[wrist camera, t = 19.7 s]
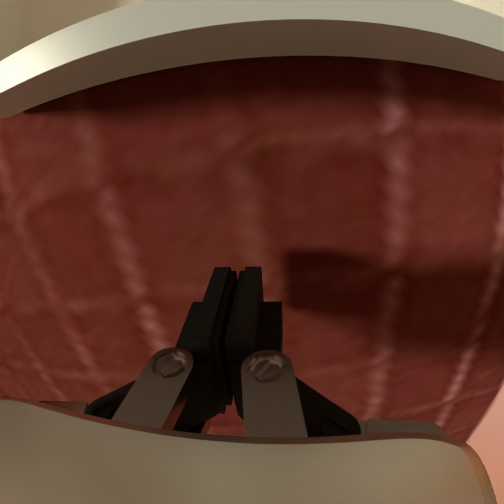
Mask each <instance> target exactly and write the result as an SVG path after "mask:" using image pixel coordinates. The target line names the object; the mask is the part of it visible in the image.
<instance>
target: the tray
mask: <svg viewBox="0 0 504 504" xmlns="http://www.w3.org/2000/svg"><path fill="white" fill-rule="evenodd" d="M272 56H346V57H363V58H375V59H386V60H395V61H403V62H411V63H418V64H424V65H430V66H436V67H441V68H447V69H452V70H457V71H461V72H466V73H470V74H474V75H478V76H482V77H486V78H490V79H494V80H500V81H504V0H0V119H2V118H5V117H9V116H13V115H15V114H17V113H20V112H22V111H25V110H27V109H29V108H32V107H35V106H37V105H40V104H42V103H45V102H48V101H50V100H53V99H56V98H59V97H62V96H65V95H68V94H71V93H74V92H77V91H80V90H83V89H86V88H90V87H93V86H96V85H100V84H103V83H107V82H111V81H115V80H118V79H122V78H126V77H131V76H135V75H139V74H144V73H148V72H153V71H158V70H163V69H169V68H174V67H180V66H186V65H192V64H199V63H206V62H214V61H223V60H232V59H243V58H255V57H272Z"/></svg>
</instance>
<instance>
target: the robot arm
mask: <svg viewBox="0 0 504 504" xmlns="http://www.w3.org/2000/svg"><path fill="white" fill-rule="evenodd" d="M282 345H283V320H282V301H279V302H264V300H263V285H262V271H261V267H246V268H245V271H240V273H239V277H238V282H237V273H236V271H231V268H230V267H215V268H214V271H213V274H212V276H211V279H210V282H209V285H208V288H207V290H206V293H205V296H204V299H203V302H193V304H192V305H191V308H190V310H189V313H188V316H187V318H186V321H185V323H184V326H183V329H182V331H181V334H180V336H179V339H178V342H177V344H176V347H175V348H174V347H172V348H166V349H163V350H160V351H158V352H157V353H155V354H154V355H153V356H152V357H151V358H150V359H149V361H148V362H147V364H146V365H145V367H144V369H143V370H142V372H141V373H140V375H139V376H138V378H137V380H135V381H133V382H131V383H129V384H127V385H125V386H123V387H121V388H119V389H117V390H115V391H113V392H111V393H109V394H107V395H105V396H103V397H101V398H98V399H97V400H95V401H93V402H92V403H91V404H90V405H88V404H87V402H65V401H39V402H36V401H31V400H25V399H16V398H3V399H0V504H497V502H496V498H495V494H494V491H493V488H492V485H491V482H490V479H489V476H488V474H487V471H486V469H485V467H484V465H483V463H482V461H481V459H480V457H479V456H478V454H477V453H476V452H475V451H474V449H473V448H472V447H471V446H469V445H468V444H466V443H465V442H463V441H461V440H458V439H455V438H452V437H448V436H445V432H444V431H443V430H442V428H441V427H439V426H438V425H436V424H434V423H430V422H414V421H395V420H381V419H370V418H369V419H368V422H367V421H357V419H356V418H354V417H353V416H352V415H351V414H350V413H348V412H346V411H345V410H343V409H342V408H340V407H339V406H337V405H336V404H334V403H333V402H331V401H330V400H328V399H327V398H325V397H324V396H322V395H321V394H319V393H318V392H317V391H315V390H314V389H312V388H311V387H309V386H308V385H306V384H305V383H303V382H302V381H301V380H299V379H298V378H296V377H295V375H294V370H293V366H292V363H291V361H290V359H289V358H288V357H287V356H286V355H285V354H283V353H282ZM233 395H234V400H235V405H236V407H237V412H238V415H239V416H240V417H241V418H242V419H243V420H244V430H245V437H240V436H224V435H211V434H208V431H209V429H210V426H211V418H212V417H214V416H215V415H217V414H218V413H222V414H225V410H226V405H231V404H232V400H233Z"/></svg>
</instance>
